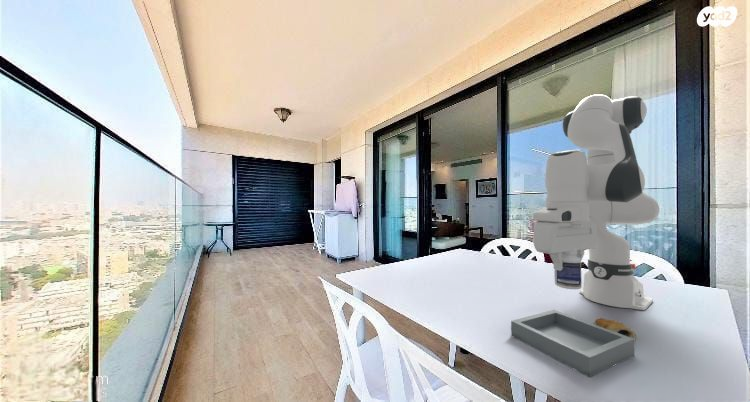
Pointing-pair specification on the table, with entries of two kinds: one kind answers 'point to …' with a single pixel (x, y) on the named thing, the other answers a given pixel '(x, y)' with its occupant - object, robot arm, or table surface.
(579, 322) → the tray
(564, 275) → the pill bottle
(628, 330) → the pastry
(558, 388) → the table surface
